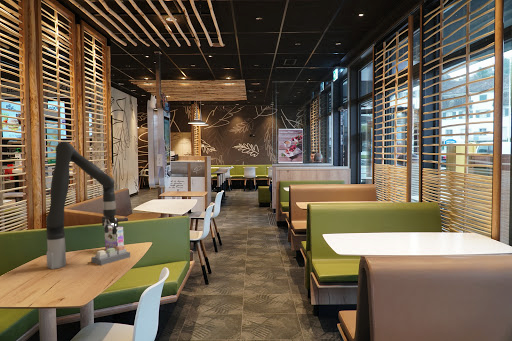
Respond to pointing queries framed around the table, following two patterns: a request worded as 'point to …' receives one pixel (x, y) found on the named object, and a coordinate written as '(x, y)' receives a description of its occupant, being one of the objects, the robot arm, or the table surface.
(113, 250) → the sage button
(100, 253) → the cream button
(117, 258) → the button board
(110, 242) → the candy box
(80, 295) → the table surface
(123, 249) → the terracotta button
